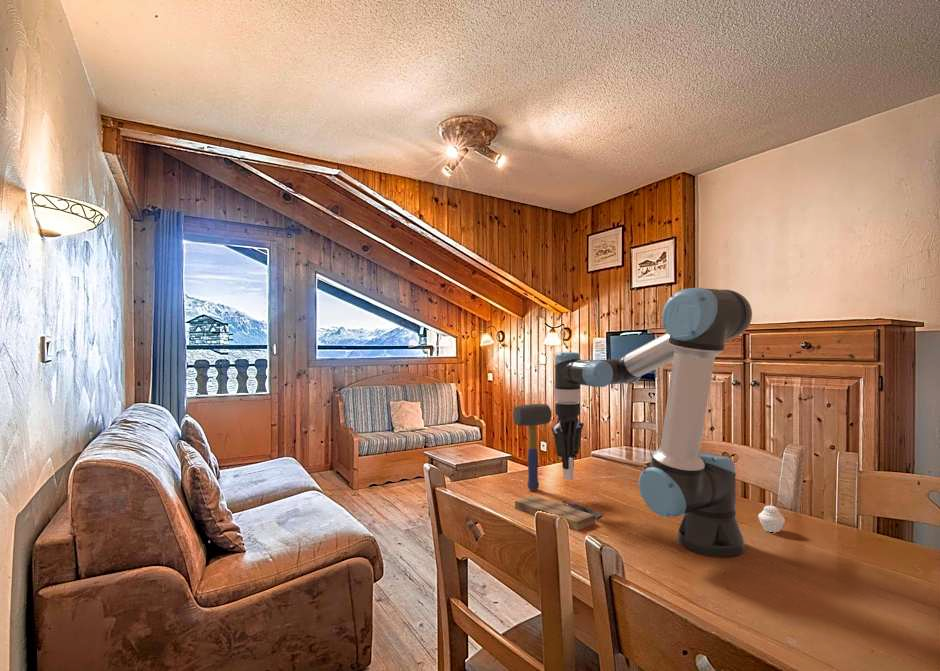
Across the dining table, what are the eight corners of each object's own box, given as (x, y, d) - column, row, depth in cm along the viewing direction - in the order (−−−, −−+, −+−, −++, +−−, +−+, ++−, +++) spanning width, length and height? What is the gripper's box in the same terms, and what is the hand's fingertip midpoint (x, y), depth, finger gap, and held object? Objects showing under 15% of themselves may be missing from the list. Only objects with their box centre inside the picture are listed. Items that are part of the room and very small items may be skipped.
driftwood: (605, 518, 146) (605, 511, 146) (590, 523, 143) (590, 516, 143) (556, 500, 163) (556, 494, 163) (541, 504, 160) (541, 498, 160)
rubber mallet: (522, 495, 167) (521, 406, 167) (512, 489, 174) (511, 403, 174) (554, 490, 171) (553, 404, 171) (543, 484, 178) (542, 401, 178)
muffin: (755, 531, 134) (755, 505, 134) (762, 525, 138) (761, 500, 138) (782, 537, 130) (781, 510, 130) (787, 531, 134) (787, 505, 134)
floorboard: (594, 523, 141) (594, 514, 141) (577, 530, 136) (577, 521, 136) (532, 502, 159) (532, 495, 159) (515, 508, 154) (514, 500, 154)
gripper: (571, 399, 159) (571, 472, 160) (544, 403, 151) (544, 480, 151) (590, 401, 154) (591, 477, 154) (563, 405, 145) (564, 485, 145)
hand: (568, 478), depth 152 cm, fingers closed
